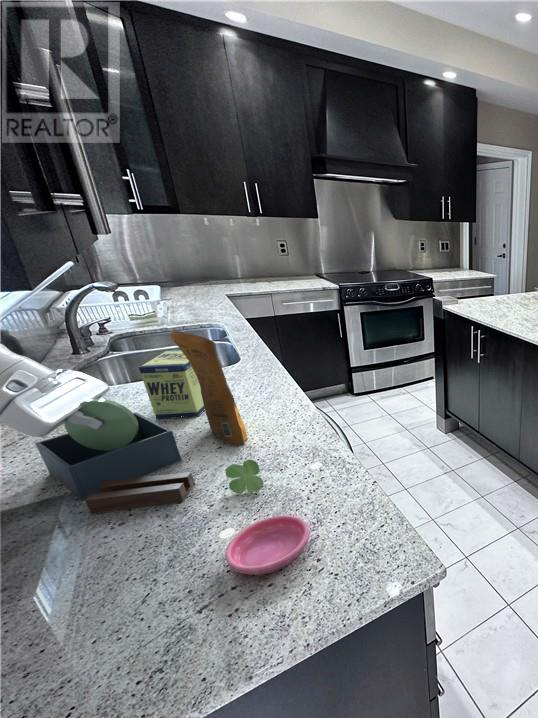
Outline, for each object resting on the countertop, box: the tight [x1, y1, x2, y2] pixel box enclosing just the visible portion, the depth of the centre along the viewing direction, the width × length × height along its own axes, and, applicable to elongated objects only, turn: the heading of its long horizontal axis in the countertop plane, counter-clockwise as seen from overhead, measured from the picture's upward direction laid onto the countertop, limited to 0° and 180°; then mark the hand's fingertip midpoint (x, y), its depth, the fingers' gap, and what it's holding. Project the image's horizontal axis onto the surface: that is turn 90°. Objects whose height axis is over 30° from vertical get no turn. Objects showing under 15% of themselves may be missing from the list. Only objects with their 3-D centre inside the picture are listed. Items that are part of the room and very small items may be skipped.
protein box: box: [138, 348, 205, 420], centre depth 116 cm, size 10×16×16 cm
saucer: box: [225, 514, 310, 576], centre depth 70 cm, size 12×12×3 cm
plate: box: [63, 398, 139, 450], centre depth 87 cm, size 1×12×12 cm, turn 107°
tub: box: [34, 411, 182, 502], centre depth 90 cm, size 17×17×8 cm
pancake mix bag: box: [169, 329, 248, 446], centre depth 100 cm, size 7×19×28 cm, turn 54°
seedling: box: [225, 459, 264, 494], centre depth 88 cm, size 7×8×6 cm
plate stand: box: [84, 471, 196, 515], centre depth 81 cm, size 6×15×3 cm, turn 106°
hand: (104, 422), depth 87 cm, fingers closed on plate, 1 cm apart
